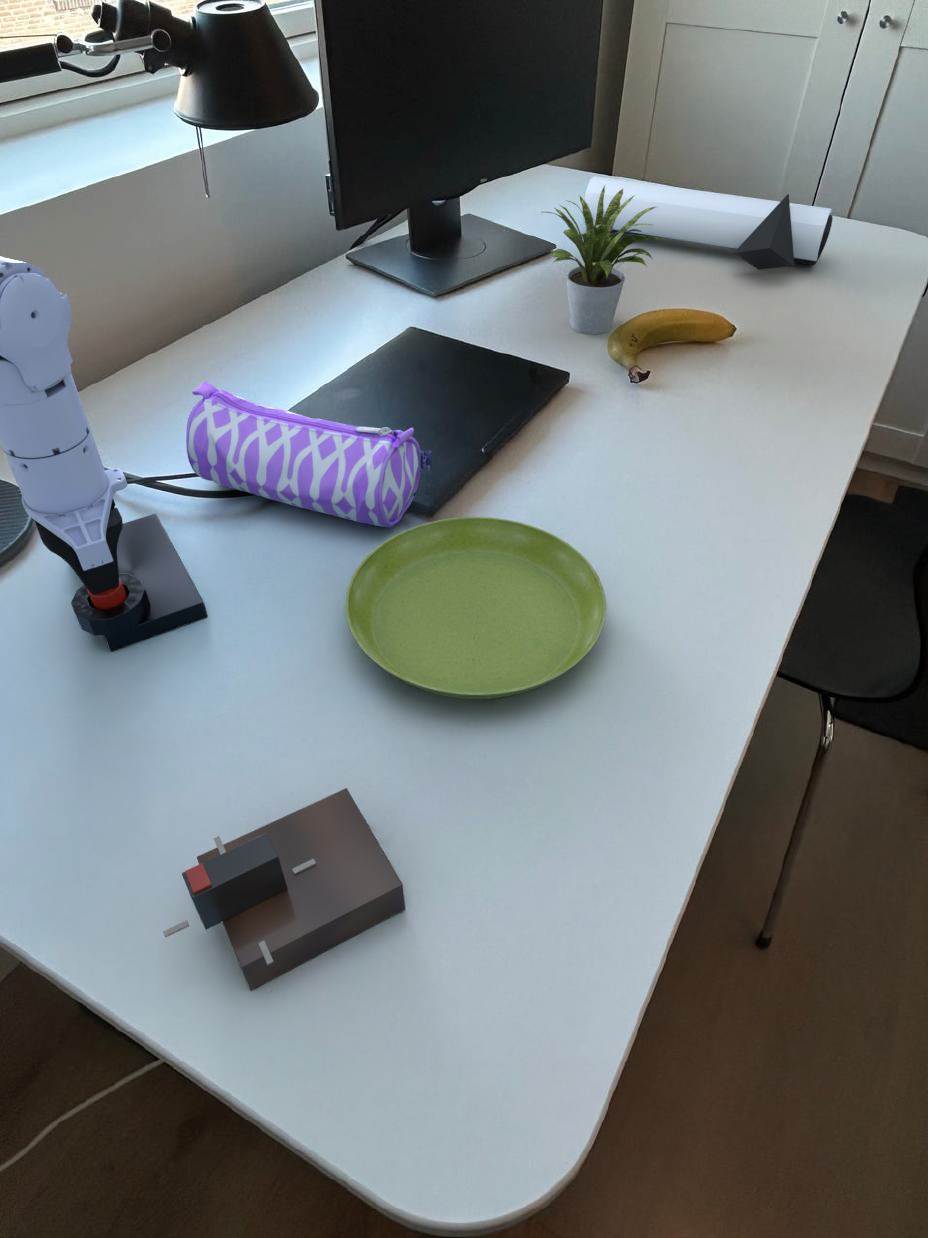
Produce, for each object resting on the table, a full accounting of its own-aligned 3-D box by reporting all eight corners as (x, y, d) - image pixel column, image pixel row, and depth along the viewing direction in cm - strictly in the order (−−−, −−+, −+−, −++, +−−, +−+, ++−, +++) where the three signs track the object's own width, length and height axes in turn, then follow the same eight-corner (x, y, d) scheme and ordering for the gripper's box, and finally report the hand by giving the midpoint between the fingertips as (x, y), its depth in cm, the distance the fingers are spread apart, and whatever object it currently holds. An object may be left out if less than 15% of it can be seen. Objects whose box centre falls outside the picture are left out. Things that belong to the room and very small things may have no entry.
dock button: (131, 605, 70) (125, 589, 69) (97, 617, 69) (91, 600, 68) (122, 587, 71) (116, 570, 70) (90, 597, 70) (83, 581, 69)
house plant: (561, 364, 104) (572, 221, 92) (509, 317, 113) (513, 181, 102) (663, 340, 108) (685, 200, 97) (605, 296, 117) (619, 164, 106)
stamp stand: (201, 1029, 49) (188, 1005, 47) (155, 897, 55) (141, 870, 52) (410, 917, 53) (407, 891, 51) (347, 807, 59) (342, 779, 57)
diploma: (583, 251, 137) (562, 219, 124) (599, 190, 135) (580, 151, 123) (814, 290, 126) (817, 259, 113) (835, 224, 124) (840, 184, 112)
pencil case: (435, 492, 85) (432, 406, 79) (398, 550, 79) (391, 460, 72) (235, 451, 91) (217, 367, 84) (186, 502, 84) (162, 415, 78)
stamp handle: (276, 865, 53) (265, 830, 50) (287, 889, 52) (277, 854, 49) (195, 905, 51) (180, 870, 48) (205, 930, 50) (190, 896, 47)
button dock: (209, 618, 73) (199, 587, 70) (94, 660, 69) (80, 628, 67) (160, 527, 82) (150, 496, 79) (56, 560, 78) (43, 529, 76)
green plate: (312, 696, 66) (307, 667, 64) (390, 531, 81) (387, 502, 79) (585, 743, 63) (589, 714, 61) (615, 562, 77) (619, 533, 75)
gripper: (133, 470, 56) (181, 623, 66) (82, 376, 66) (131, 521, 75) (18, 504, 54) (85, 657, 63) (-19, 400, 63) (45, 548, 72)
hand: (104, 586), depth 69 cm, fingers closed, pressing on dock button
